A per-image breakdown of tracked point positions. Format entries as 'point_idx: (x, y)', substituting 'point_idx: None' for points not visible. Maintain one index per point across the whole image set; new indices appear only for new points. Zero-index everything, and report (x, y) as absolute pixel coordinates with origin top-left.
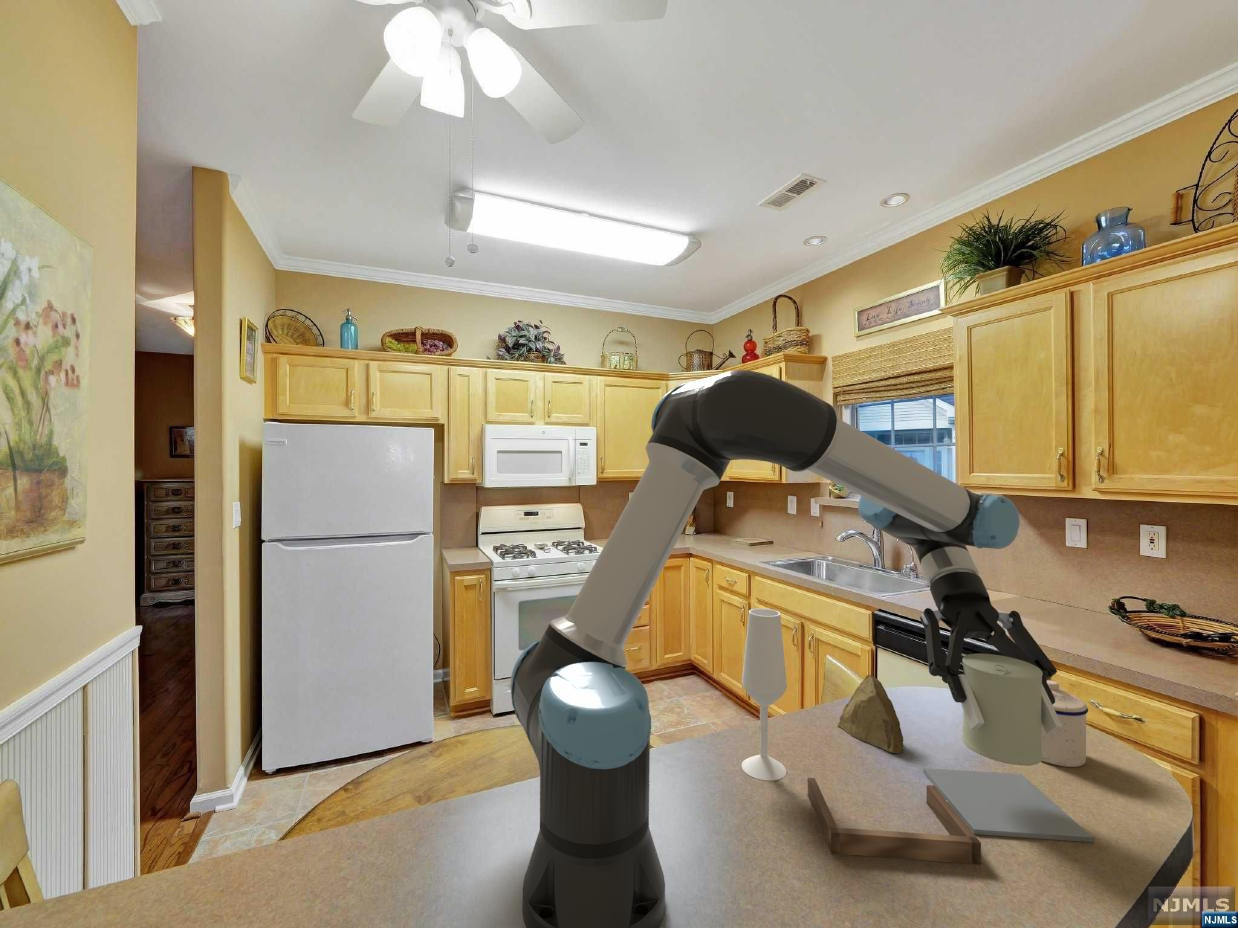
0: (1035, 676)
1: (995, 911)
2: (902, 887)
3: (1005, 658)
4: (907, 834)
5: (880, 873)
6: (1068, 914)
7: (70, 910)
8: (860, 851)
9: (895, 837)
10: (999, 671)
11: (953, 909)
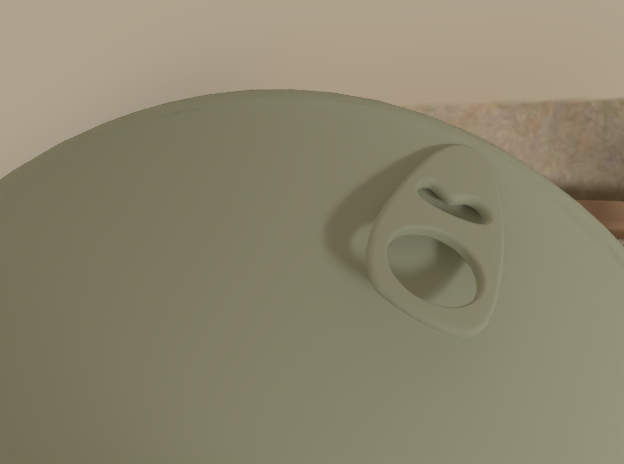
0: (139, 111)
1: (448, 116)
2: (587, 154)
3: None
4: (594, 211)
5: (620, 182)
6: None
7: None
8: None
9: (619, 201)
10: (468, 192)
11: (514, 117)
